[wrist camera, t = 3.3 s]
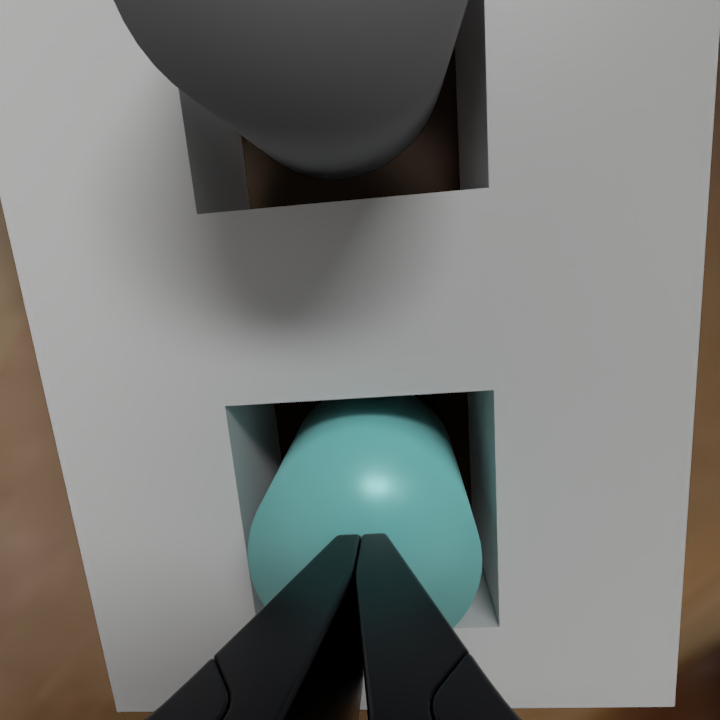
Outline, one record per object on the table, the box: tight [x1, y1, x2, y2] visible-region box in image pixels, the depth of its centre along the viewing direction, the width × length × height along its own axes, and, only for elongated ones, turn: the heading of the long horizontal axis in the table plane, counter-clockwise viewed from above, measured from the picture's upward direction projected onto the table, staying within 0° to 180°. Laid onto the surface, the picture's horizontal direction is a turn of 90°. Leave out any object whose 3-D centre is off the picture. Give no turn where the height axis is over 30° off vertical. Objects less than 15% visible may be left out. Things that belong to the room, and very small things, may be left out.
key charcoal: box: [114, 0, 468, 179], centre depth 7 cm, size 4×4×4 cm
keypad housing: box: [0, 0, 720, 712], centre depth 10 cm, size 12×26×4 cm, turn 5°
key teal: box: [248, 395, 482, 628], centre depth 10 cm, size 4×4×4 cm
